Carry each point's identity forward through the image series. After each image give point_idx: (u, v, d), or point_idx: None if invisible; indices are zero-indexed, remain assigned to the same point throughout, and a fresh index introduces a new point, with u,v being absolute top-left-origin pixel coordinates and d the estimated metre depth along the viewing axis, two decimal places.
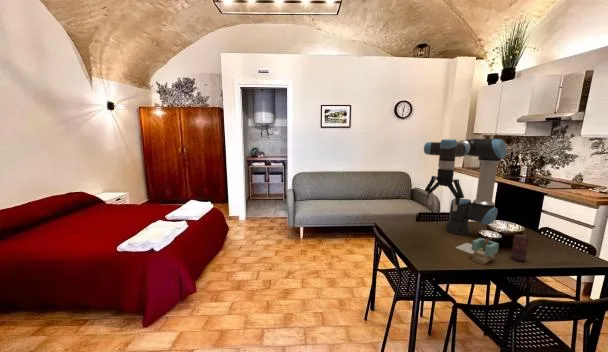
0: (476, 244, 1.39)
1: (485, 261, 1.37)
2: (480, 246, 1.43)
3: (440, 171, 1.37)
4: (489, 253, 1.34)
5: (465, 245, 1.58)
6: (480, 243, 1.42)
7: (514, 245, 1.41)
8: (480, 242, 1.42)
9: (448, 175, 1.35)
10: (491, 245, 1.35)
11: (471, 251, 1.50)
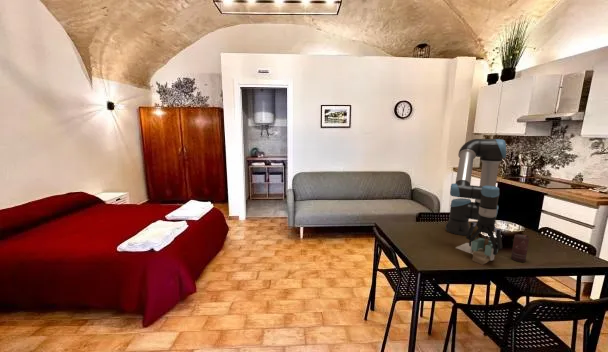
0: (476, 244, 1.39)
1: (485, 261, 1.37)
2: (480, 246, 1.43)
3: (481, 218, 1.34)
4: (489, 253, 1.34)
5: (465, 245, 1.58)
6: (480, 243, 1.42)
7: (514, 245, 1.41)
8: (480, 242, 1.42)
9: (490, 223, 1.32)
10: (491, 245, 1.35)
11: None
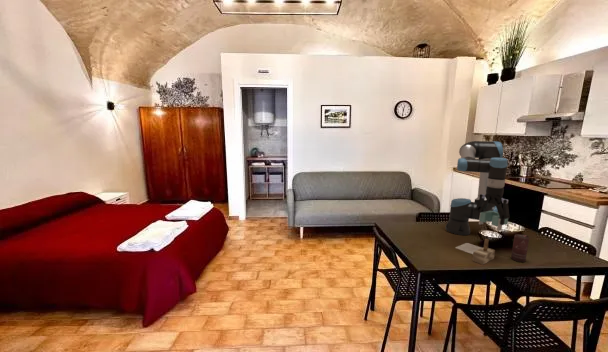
0: (484, 215, 1.43)
1: (485, 261, 1.37)
2: (490, 218, 1.46)
3: (489, 189, 1.38)
4: (496, 223, 1.37)
5: (465, 245, 1.58)
6: (490, 215, 1.45)
7: (514, 245, 1.41)
8: (490, 214, 1.45)
9: (497, 193, 1.36)
10: (499, 216, 1.38)
11: (471, 251, 1.50)
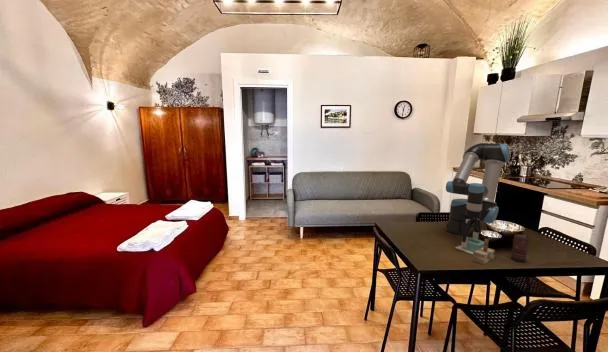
0: None
1: (485, 261, 1.37)
2: None
3: None
4: None
5: None
6: (478, 244, 1.53)
7: (514, 245, 1.41)
8: (478, 242, 1.53)
9: (466, 214, 1.52)
10: (467, 241, 1.52)
11: None
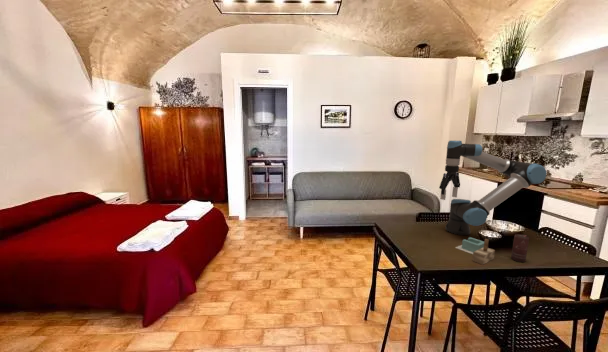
0: None
1: (485, 261, 1.37)
2: None
3: None
4: None
5: None
6: (478, 244, 1.53)
7: (514, 245, 1.41)
8: (478, 242, 1.53)
9: (445, 170, 1.64)
10: (467, 241, 1.52)
11: None
